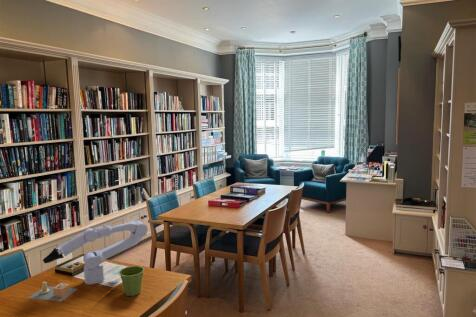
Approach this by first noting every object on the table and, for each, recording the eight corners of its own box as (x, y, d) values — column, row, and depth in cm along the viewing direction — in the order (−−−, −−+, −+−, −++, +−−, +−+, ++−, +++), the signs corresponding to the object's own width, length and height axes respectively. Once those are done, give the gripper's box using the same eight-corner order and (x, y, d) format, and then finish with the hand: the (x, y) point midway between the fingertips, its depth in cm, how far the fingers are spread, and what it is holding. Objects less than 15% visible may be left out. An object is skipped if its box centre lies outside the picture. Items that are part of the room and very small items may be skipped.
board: (78, 291, 170) (77, 279, 170) (61, 304, 159) (60, 290, 158) (46, 288, 174) (45, 276, 173) (27, 301, 162) (26, 287, 162)
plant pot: (150, 289, 171) (149, 267, 170) (133, 301, 161) (132, 277, 159) (131, 285, 176) (130, 264, 175) (114, 296, 166) (113, 273, 164)
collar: (61, 291, 168) (60, 283, 168) (70, 292, 167) (69, 284, 167) (53, 296, 163) (52, 288, 163) (62, 297, 162) (62, 289, 162)
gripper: (69, 238, 179) (43, 254, 173) (66, 237, 166) (38, 254, 160) (76, 250, 179) (50, 266, 173) (74, 250, 166) (46, 267, 160)
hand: (45, 261), depth 167 cm, fingers open, 7 cm apart
